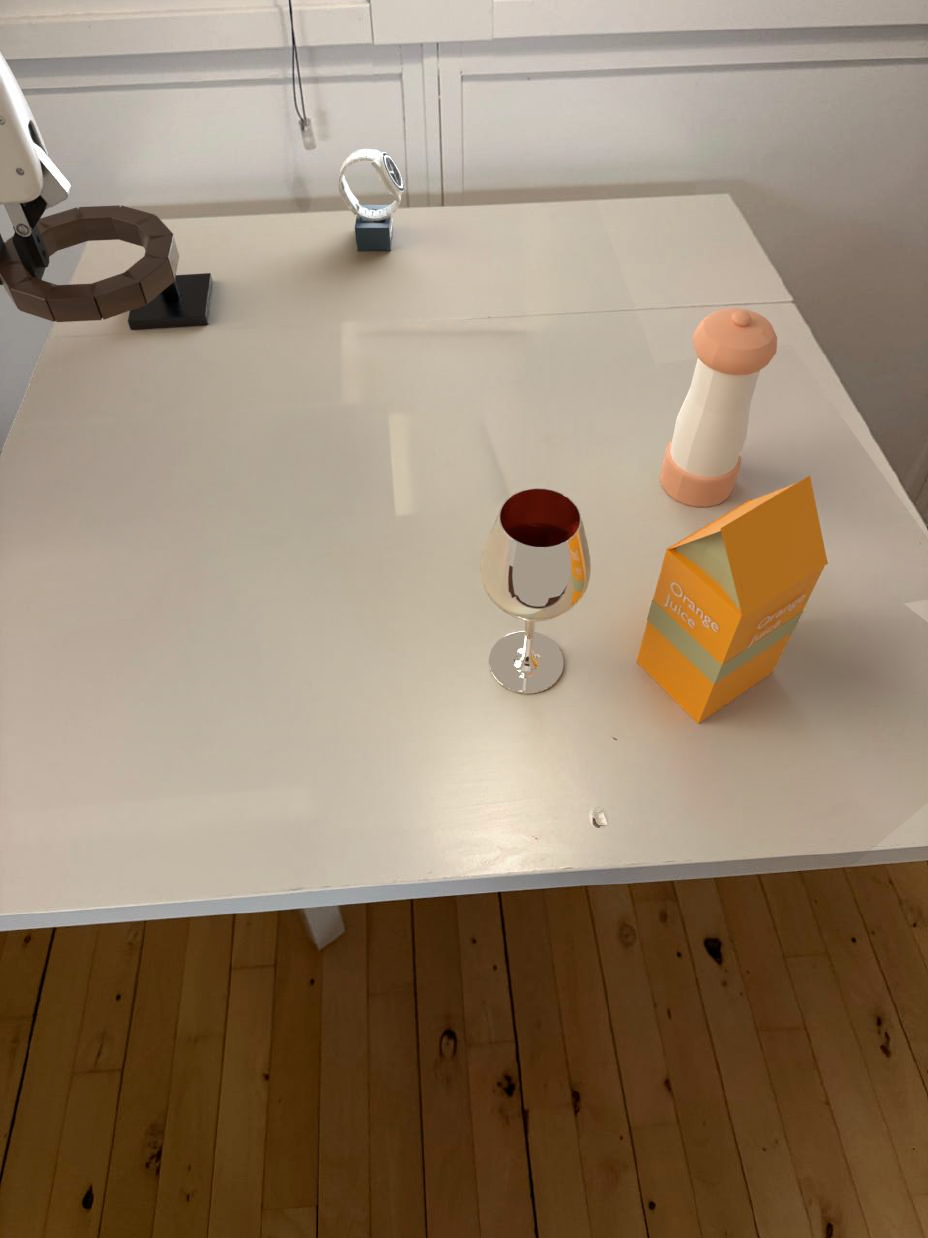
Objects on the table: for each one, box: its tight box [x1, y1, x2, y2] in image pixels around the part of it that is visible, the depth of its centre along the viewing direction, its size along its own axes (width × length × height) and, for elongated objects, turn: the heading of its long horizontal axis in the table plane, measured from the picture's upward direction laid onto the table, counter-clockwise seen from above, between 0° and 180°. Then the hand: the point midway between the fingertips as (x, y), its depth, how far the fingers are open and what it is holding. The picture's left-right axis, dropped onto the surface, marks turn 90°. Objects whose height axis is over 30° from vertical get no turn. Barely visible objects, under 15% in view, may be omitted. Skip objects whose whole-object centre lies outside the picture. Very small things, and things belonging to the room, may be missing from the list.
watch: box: [338, 148, 405, 252], centre depth 113 cm, size 6×8×11 cm
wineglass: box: [479, 487, 592, 695], centre depth 70 cm, size 8×8×18 cm
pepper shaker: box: [659, 307, 778, 508], centre depth 82 cm, size 7×7×19 cm
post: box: [127, 249, 213, 331], centre depth 104 cm, size 9×9×10 cm
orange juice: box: [636, 474, 828, 725], centre depth 68 cm, size 8×9×20 cm
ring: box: [0, 204, 180, 323], centre depth 73 cm, size 14×14×2 cm
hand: (21, 273), depth 74 cm, fingers closed on ring, 2 cm apart
